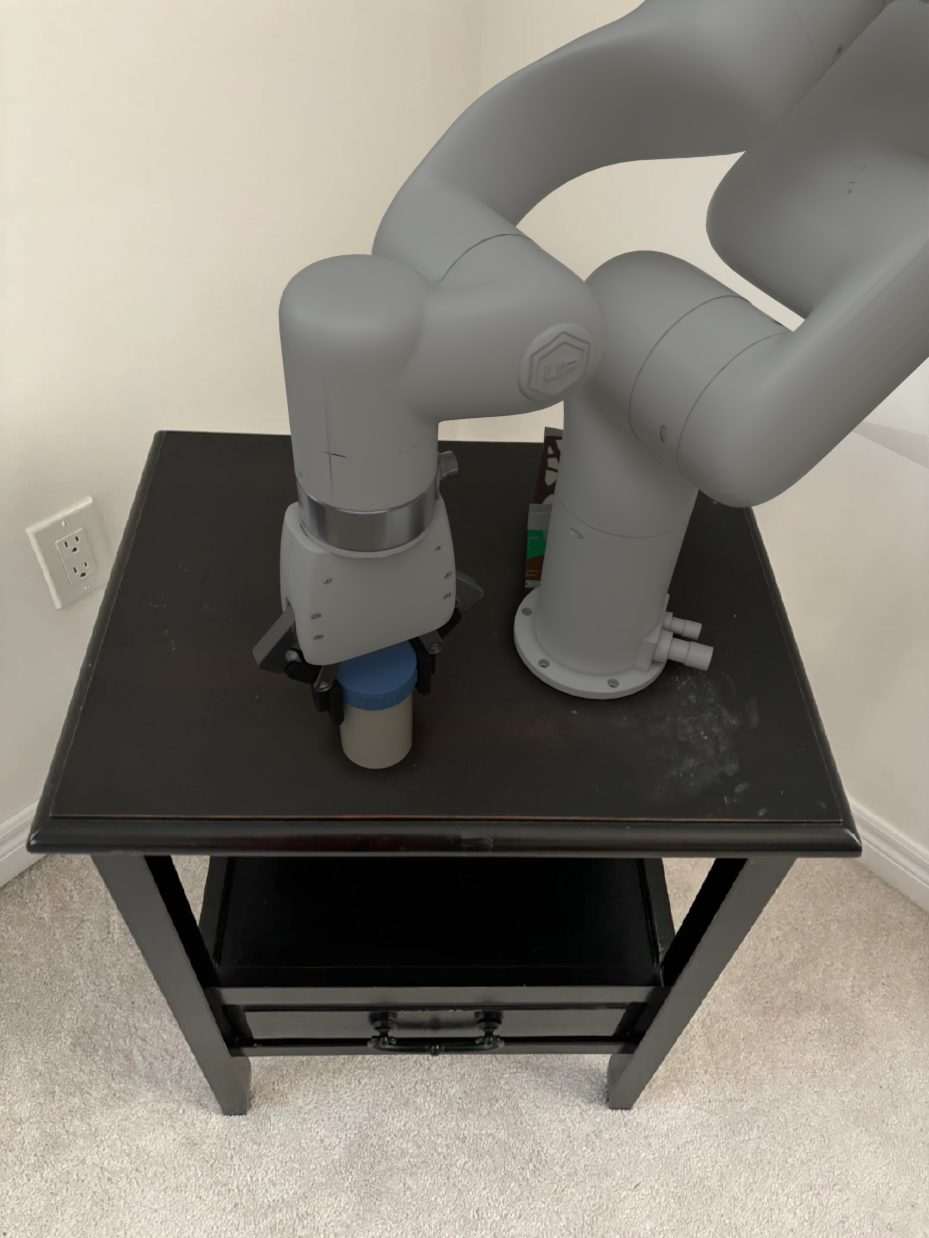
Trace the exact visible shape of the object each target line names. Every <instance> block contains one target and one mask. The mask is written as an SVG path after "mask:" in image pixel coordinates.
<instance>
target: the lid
mask: <svg viewBox="0 0 929 1238" xmlns="http://www.w3.org/2000/svg"><path fill="white" fill-rule="evenodd" d="M416 662H417V659H416V654H415V651H414V650H413V648H412V646H411V645H410V643H409V641H408V640H406V641H403V642H400V643H397V644H394V645H391V646H388V647H385V648H382V649H379V650H376V651H373V652H370V653H367V654H364V655H361V656H357V657H354V658H351V659H348V660H345V661H342V663H341V665H340V668H339V670H338V673H337V675H336V678H337V680H338V682H339V684H340V686H341V689H342V697H343V701H344V702H346V703H347V704H349V706H350V705H351V706H353V707H355V708H358V709H362V710H365V711H366V710H369V711H376V710H384V709H388V708H391V707H393V706H396V705H397V704H398V705H399V703H401V702H402V701H404V700H405V699H406V698H407V697H408V696H409V694H410V695H411V692H412V690H413V691H414V688H415V683H416V682H417V669H416Z"/></svg>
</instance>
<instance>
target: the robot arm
mask: <svg viewBox="0 0 929 1238" xmlns="http://www.w3.org/2000/svg"><path fill="white" fill-rule="evenodd" d="M738 153H742V155H741V156H740V157H739V158H738V159H736V161H735V162H734V163H733V164H732V166H731V167H730V168H729V169H728V171H726V173H725V174H724V176H723V177H722V179H721V180H720V181H719V183H718V185H717V186H716V188H715V189H714V192H713V194H712V195H711V198H710V201H709V203H708V206H707V210H706V217H705V230H706V231H705V232H706V235H707V237H708V241H709V244H710V246H711V248H712V249H713V251H714V252H715V254H716V255H717V256H718V257H719V258H720V260H721V261H722V262H723V263H724V264H725V265H726V266H727V267H729V268H730V270H732V271H733V272H734V273H736V274H737V275H739V276H740V277H741V278H743V279H744V280H745V281H746V282H748V283H749V284H751V285H752V286H754V287H755V288H756V289H758V290H760V291H761V292H763V293H764V294H765V295H767V296H768V297H769V298H771V299H773V300H774V301H776V302H778V303H779V304H780V305H782V306H783V307H785V308H787V310H790V311H791V312H792V313H794V314H796V315H797V316H798V317H800V318H802V319H803V321H802V322H801V324H799V325H798V327H796V328H795V329H794V330H791V329H790V328H788V327H787V326H785V325H784V324H783V323H781V322H780V321H778V320H776V319H775V318H774V317H772V316H770V314H768V313H766V312H765V311H763V310H762V309H760V308H759V307H757V306H755V305H754V304H753V303H752V302H751V301H750V300H748V299H747V298H746V297H744V296H743V295H741V294H739V293H738V292H736V291H734V290H733V289H732V288H730V287H728V286H727V285H726V284H724V283H723V282H721V281H720V280H718V279H716V278H715V277H714V276H713V275H711V274H710V273H707V272H706V271H704V270H703V269H701V267H698V266H696V265H694V264H693V263H691V262H689V261H687V260H685V259H683V258H681V257H678V256H675V255H672V254H669V253H667V252H663V251H659V250H658V251H657V250H648V249H644V250H643V249H641V250H640V249H639V250H632V251H628V252H623V253H621V254H618V255H615V256H613V257H611V258H610V259H608V260H606V261H604V262H603V263H602V264H600V265H599V266H597V267H596V268H595V269H594V270H593V271H592V272H591V273H590V274H589V275H588V277H586V278H585V280H583V279H582V278H581V276H579V275H578V273H577V274H576V272H574V271H573V270H572V269H571V268H569V266H567V265H566V264H564V263H563V262H561V260H559V259H557V257H555V256H553V255H552V254H550V253H549V252H548V251H546V250H545V249H543V248H542V247H541V246H540V245H539V244H538V243H536V242H535V241H534V239H532V238H531V237H529V236H528V235H527V234H526V233H525V232H523V231H522V230H520V229H519V228H518V227H517V226H518V225H519V224H520V223H521V221H522V220H523V219H524V218H525V217H526V216H527V215H528V214H529V213H530V212H531V211H532V210H533V209H534V208H535V207H536V206H537V205H538V204H539V203H540V202H542V201H543V200H544V199H546V197H548V196H549V195H550V194H552V193H553V192H554V191H556V190H558V189H560V188H561V187H562V186H564V185H565V184H567V183H569V182H570V181H573V180H575V179H576V178H579V177H580V176H584V175H585V174H587V173H590V172H593V171H596V170H598V169H602V168H605V167H609V166H614V165H618V164H622V163H630V162H638V161H656V160H657V161H658V160H672V159H674V160H675V159H676V160H677V159H693V158H694V159H695V158H707V157H708V158H709V157H718V156H729V155H734V154H738ZM277 311H278V331H279V332H278V333H279V341H280V342H279V343H280V350H281V359H282V367H283V368H282V369H283V377H284V385H285V395H286V404H287V414H288V421H289V431H290V439H291V449H292V457H293V465H294V466H293V467H294V477H295V486H296V496H297V501H295V502H292V503H291V504H289V505H288V506H287V508H286V510H285V513H284V518H283V522H282V529H281V535H280V536H281V537H280V551H279V584H280V586H279V588H280V601H281V610H282V614H281V615H280V616H279V617H278V619H277V620H275V622H274V623H273V624H272V625H271V627H270V628H269V629H268V631H266V632H265V634H264V635H263V637H261V639H260V640H259V641H258V642H257V643H256V645H255V646H254V647H253V649H252V650H251V653H252V656H253V658H254V661H255V663H256V665H257V667H258V669H260V671H261V670H262V671H266V672H269V673H273V674H278V675H281V674H284V675H286V677H287V678H288V679H290V680H294V681H297V682H300V683H303V684H308V685H310V692H311V697H312V701H313V704H314V706H315V708H316V711H317V712H318V713H319V714H321V713H324V712H327V715H328V717H329V719H330V721H331V723H332V725H333V727H334V728H335V727H340V725H341V724H342V722H344V710H343V697H342V689H341V686H340V684H339V682H338V680H337V678H336V675H337V673H338V670H339V668H340V665H341V663H342V661H345V660H348V659H351V658H354V657H357V656H361V655H364V654H367V653H370V652H373V651H376V650H379V649H382V648H385V647H388V646H391V645H394V644H397V643H400V642H403V641H406V640H408V641H409V643H410V645H411V646H412V648H413V650H414V651H415V654H416V659H417V662H416V669H417V682H416V683H415V686H414V688H415V689H416V691H417V693H418V694H419V695H422V696H426V695H428V694H430V693H431V691H432V690H431V689H432V675H433V674H435V673H436V665H437V663H436V661H437V654H438V653H440V652H442V650H443V649H444V647H445V643H444V641H443V640H444V639H446V637H447V636H448V635H449V634H450V633H451V632H452V631H453V630H454V629H455V628H456V627H457V626H458V625H459V624H460V622H461V621H462V619H463V616H462V615H463V614H464V613H467V612H468V611H469V610H470V609H471V608H472V607H473V606H475V604H476V603H478V601H480V600H481V599H482V598H483V596H484V591H483V589H482V588H481V586H480V585H479V583H478V581H477V580H476V579H475V578H474V577H473V576H470V575H469V574H467V573H466V572H464V571H462V570H460V569H458V568H457V567H456V563H455V561H456V560H455V551H454V544H453V538H452V537H453V536H452V532H451V526H450V521H449V516H448V513H447V512H448V511H447V508H446V505H445V501H444V499H443V496H442V494H441V493H440V485H441V483H442V481H444V480H447V478H448V477H450V476H454V475H457V474H458V473H459V464H458V459H457V457H456V455H455V453H454V452H453V451H451V450H448V451H445V452H439V449H438V447H439V425H440V423H442V422H448V421H459V420H470V419H481V418H482V419H484V418H498V417H509V416H516V415H517V416H518V415H524V414H525V415H526V414H529V413H534V412H538V411H542V410H544V409H548V408H551V407H553V406H555V405H557V404H559V403H561V402H562V403H563V406H562V407H563V423H562V424H563V425H562V426H563V427H562V430H563V437H562V446H561V454H560V461H559V468H558V475H557V481H556V486H555V492H554V498H553V505H552V511H551V517H550V524H549V530H548V536H547V543H546V549H545V555H544V562H543V568H542V574H541V581H540V586H538V587H537V588H535V589H534V590H532V591H531V592H530V593H529V594H526V595H525V597H524V598H523V600H522V602H520V604H519V606H518V608H517V610H516V614H515V617H514V622H513V623H514V624H513V641H514V645H515V648H516V651H517V654H518V655H519V657H520V659H521V661H522V662H523V664H524V665H525V666H526V667H527V668H528V670H529V671H530V672H531V673H532V674H533V675H534V676H536V677H537V678H538V679H539V680H540V681H542V682H543V683H545V684H546V685H549V686H550V687H552V688H553V689H555V690H558V691H560V692H563V693H565V694H568V695H570V696H573V697H580V698H582V699H583V698H584V699H590V700H610V699H611V700H612V699H620V698H623V697H627V696H631V695H633V694H635V693H638V692H640V691H642V690H644V689H646V688H647V687H648V686H649V685H651V684H652V683H654V681H656V679H658V677H659V676H660V675H661V674H662V673H663V670H664V668H665V666H666V665H667V662H668V660H670V661H673V662H677V663H681V664H683V665H684V666H685V667H689V668H693V669H696V670H700V671H703V672H707V671H708V670H709V666H710V663H711V661H712V657H713V653H714V646H710V645H706V644H703V643H700V642H699V643H698V642H696V641H698V639H699V638H700V637H699V636H700V633H701V630H702V626H703V624H702V623H700V622H696V621H692V620H688V619H682V618H679V617H675V616H673V614H674V612H671V611H668V610H667V607H668V603H669V600H670V594H669V593H668V591H669V589H670V588H669V587H670V584H671V582H672V578H673V575H674V571H675V568H676V564H677V563H678V559H679V555H680V553H681V549H682V545H683V543H684V539H685V535H686V534H687V533H686V532H687V529H688V526H689V522H690V520H691V515H692V514H693V513H692V512H693V510H694V507H695V504H696V501H697V497H698V493H699V491H700V492H701V493H703V494H704V495H706V496H707V497H709V498H710V499H712V500H713V501H716V503H720V504H722V505H724V506H727V507H731V508H743V509H745V508H752V507H757V506H759V505H763V504H765V503H767V502H770V501H771V500H774V499H775V498H777V497H778V496H780V495H781V494H783V493H785V492H786V491H787V490H788V489H790V488H792V487H793V486H794V485H795V484H797V483H798V482H799V481H800V480H802V478H804V477H805V476H806V475H807V474H808V473H809V472H810V471H812V469H814V468H815V467H816V466H817V465H818V464H819V463H820V462H821V461H822V460H823V459H824V458H825V457H827V456H828V455H829V454H830V453H831V452H832V451H833V450H834V449H835V448H836V447H838V445H839V444H840V443H841V442H842V441H843V440H844V439H845V438H846V437H847V436H848V435H849V434H851V433H852V431H854V430H855V429H856V428H857V427H858V426H859V425H860V424H861V423H862V422H863V421H865V419H866V418H867V417H868V416H869V415H870V414H871V413H873V412H874V410H875V409H877V407H878V406H880V405H881V404H882V403H883V402H884V401H885V400H886V399H887V398H888V397H889V396H890V395H891V394H892V393H893V392H894V391H895V390H896V389H898V387H899V386H901V384H903V383H904V382H905V381H906V380H907V379H908V378H909V377H910V376H911V375H912V374H913V373H914V372H915V371H916V370H917V369H918V368H919V367H921V365H923V363H924V362H925V361H927V360H928V358H929V0H644V1H643V2H642V3H640V4H639V5H638V6H637V7H636V8H635V9H633V10H631V11H630V12H628V13H626V14H625V15H624V16H622V17H620V18H618V19H615V20H613V21H611V22H609V23H607V24H604V25H602V26H599V27H597V28H595V29H593V30H590V31H589V32H587V33H583V34H582V35H580V36H579V37H576V38H574V39H573V40H571V41H569V42H568V43H565V44H564V45H562V46H559V47H558V48H556V49H554V50H553V51H551V52H549V53H548V54H546V55H543V56H542V57H540V58H539V59H537V60H534V61H533V62H531V63H529V64H527V65H526V66H524V67H522V68H520V69H518V70H516V71H515V72H513V73H511V74H510V75H508V76H507V77H505V78H503V79H502V80H501V81H499V82H498V83H496V84H494V85H493V86H492V87H491V88H490V89H488V90H487V91H485V92H484V93H483V94H482V95H480V96H479V97H478V98H477V99H475V101H473V102H472V103H471V104H470V105H469V106H468V107H466V108H465V110H464V111H463V112H462V113H460V114H459V116H458V117H457V118H455V120H454V121H453V122H452V123H451V124H450V126H449V127H448V128H447V129H446V131H445V132H444V133H443V135H442V136H441V137H440V138H439V139H438V140H437V142H436V143H435V144H434V145H433V146H432V148H431V149H430V150H429V151H428V152H427V154H426V155H425V156H424V157H423V159H422V160H421V161H420V162H419V164H418V165H417V166H416V167H415V168H414V170H413V171H412V172H411V174H409V176H408V177H407V178H406V179H405V181H404V182H403V184H402V185H401V186H400V188H399V189H398V190H397V192H396V194H395V195H394V196H393V198H392V200H391V202H390V203H389V206H388V207H387V209H386V210H385V212H384V214H383V216H382V218H381V220H380V222H379V224H378V228H377V230H376V232H375V235H374V238H373V243H372V246H371V253H370V254H367V253H351V254H341V255H334V256H330V257H326V258H322V259H319V260H316V261H314V262H312V263H310V264H308V265H307V266H304V267H303V268H302V269H300V270H299V271H298V272H297V273H296V274H294V275H293V276H292V277H291V278H290V279H289V280H288V282H287V283H286V285H285V287H284V289H283V291H282V293H281V295H280V299H279V305H278V310H277ZM674 634H675V635H679V636H681V637H683V638H686V639H687V638H688V639H691V641H687V640H683V639H681V638H680V639H679V638H676V637H673V636H674ZM692 640H695V641H692ZM297 642H298V646H299V648H300V649H299V648H297V647H293V646H294V645H295V644H296V643H297Z"/></svg>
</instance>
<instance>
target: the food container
mask: <svg viewBox="0 0 929 1238" xmlns="http://www.w3.org/2000/svg"><path fill="white" fill-rule="evenodd" d="M562 437H563V428H562V429H561V428H557V427H550V426H544V431H543V442H542V444H543V445H542V452H541V459H540V463H539V467H538V472H537V479H536V483H535V489H534V494H533V499H532V503H529V506H528V517H527V529H526V530H527V540H526V541H527V543H526V562H525V581H524V594H525V595H528V594H529V593H530V592H531V591H532V590H534V589H535V588H537V587H538V586H540V581H541V574H542V568H543V562H544V555H545V549H546V543H547V536H548V530H549V524H550V517H551V511H552V505H553V498H554V492H555V486H556V481H557V475H558V468H559V461H560V454H561V446H562Z"/></svg>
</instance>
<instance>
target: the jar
mask: <svg viewBox="0 0 929 1238" xmlns="http://www.w3.org/2000/svg"><path fill="white" fill-rule="evenodd" d="M413 705H414V689H413V690H412V692H411V695H410V694H409V696H408V697H407V698H406V699H405V700H404V701H402V702H401V703H399V705H398V704H397V705H396V706H393V707H391V708H388V709H384V710H376V711H369V710H366V711H365V710H362V709H358V708H355V707H353V706H351V705H350V706H349V704H347V703H346V702H344V701H343V710H344V722H342V724H341V725H339V732H340V744H341V748H342V751H343V752H344V754H345V756H346V757H347V758H348V759H349V760H350V761H352V762H353V763H354V764H356V765H358V766H360V767H362V768H366V769H372V770H378V769H386V768H389V767H392V766H395V765H396V764H398V763H400V762H401V761H402V760H403V759H404V758H405V757H406V756H408V753H409V752H410V750H411V747H412V744H413V731H414V730H413V727H414V726H413V724H414V722H413V720H414V719H413V717H414V712H413V711H414V707H413Z"/></svg>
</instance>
